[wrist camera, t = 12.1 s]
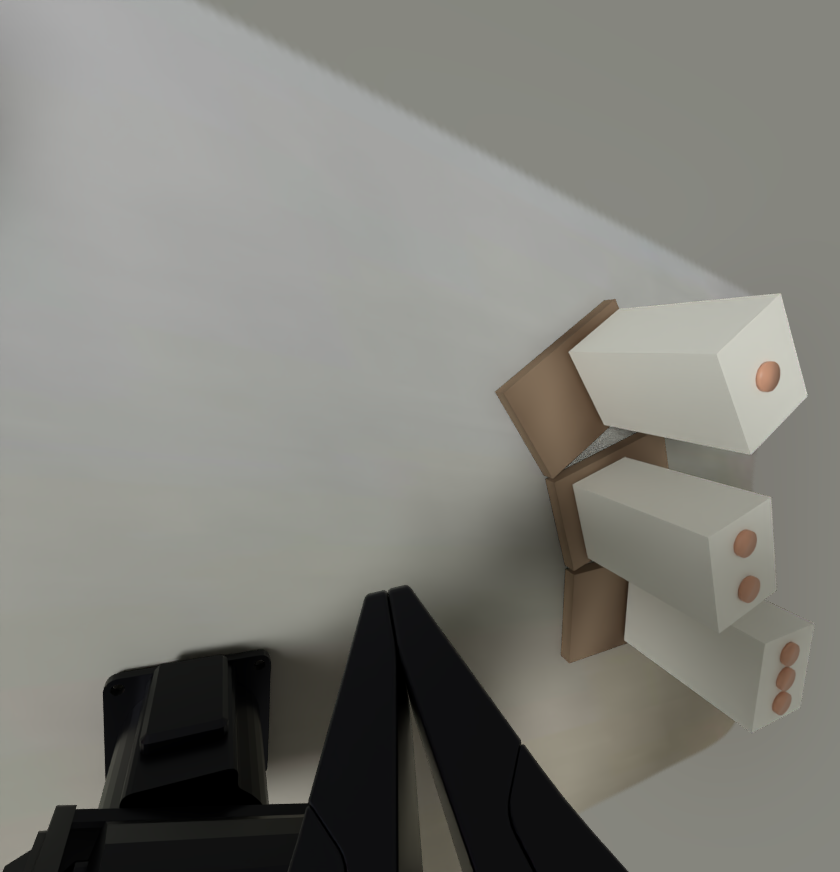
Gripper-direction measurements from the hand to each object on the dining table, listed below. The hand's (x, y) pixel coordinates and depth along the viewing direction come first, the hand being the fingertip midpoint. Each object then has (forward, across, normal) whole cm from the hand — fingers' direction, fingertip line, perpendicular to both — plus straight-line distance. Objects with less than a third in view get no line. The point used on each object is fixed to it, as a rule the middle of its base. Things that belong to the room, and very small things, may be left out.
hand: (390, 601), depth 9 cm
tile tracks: (+13, -13, +12) cm, 22 cm away
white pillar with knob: (+16, -14, +5) cm, 22 cm away
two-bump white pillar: (+13, -13, +13) cm, 22 cm away
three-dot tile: (+11, -16, +20) cm, 28 cm away
